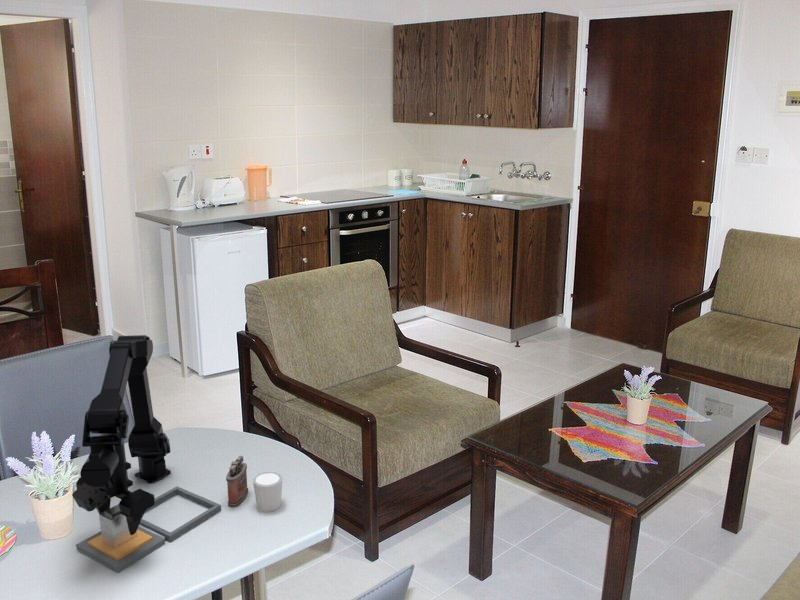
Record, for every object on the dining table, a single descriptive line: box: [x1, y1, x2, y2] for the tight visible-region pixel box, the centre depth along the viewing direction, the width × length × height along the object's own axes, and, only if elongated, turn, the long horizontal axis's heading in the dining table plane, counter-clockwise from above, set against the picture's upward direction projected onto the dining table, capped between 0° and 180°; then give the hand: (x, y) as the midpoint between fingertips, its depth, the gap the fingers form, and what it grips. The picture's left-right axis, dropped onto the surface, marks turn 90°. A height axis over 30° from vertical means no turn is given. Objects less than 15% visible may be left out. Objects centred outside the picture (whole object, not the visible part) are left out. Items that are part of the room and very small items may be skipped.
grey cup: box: [252, 471, 283, 513], centre depth 179 cm, size 7×7×7 cm
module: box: [98, 503, 138, 549], centre depth 163 cm, size 4×6×8 cm, turn 147°
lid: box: [75, 525, 166, 573], centre depth 164 cm, size 14×13×2 cm
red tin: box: [225, 455, 249, 509], centre depth 182 cm, size 8×3×10 cm, turn 168°
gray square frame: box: [139, 486, 222, 543], centre depth 176 cm, size 15×15×2 cm
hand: (119, 527), depth 163 cm, fingers open, 9 cm apart
